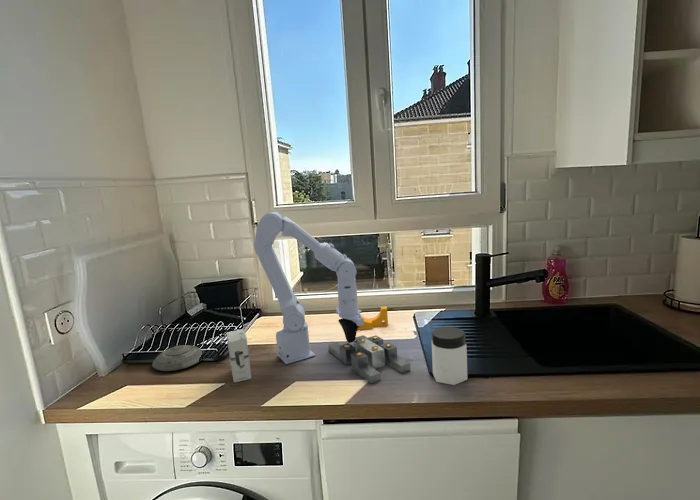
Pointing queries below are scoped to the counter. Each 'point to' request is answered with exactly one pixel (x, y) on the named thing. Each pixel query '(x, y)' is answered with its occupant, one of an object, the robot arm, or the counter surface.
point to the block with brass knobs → (371, 352)
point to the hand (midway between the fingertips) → (351, 341)
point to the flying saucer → (177, 358)
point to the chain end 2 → (371, 374)
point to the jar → (449, 355)
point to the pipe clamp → (375, 320)
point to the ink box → (239, 355)
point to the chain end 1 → (350, 348)
